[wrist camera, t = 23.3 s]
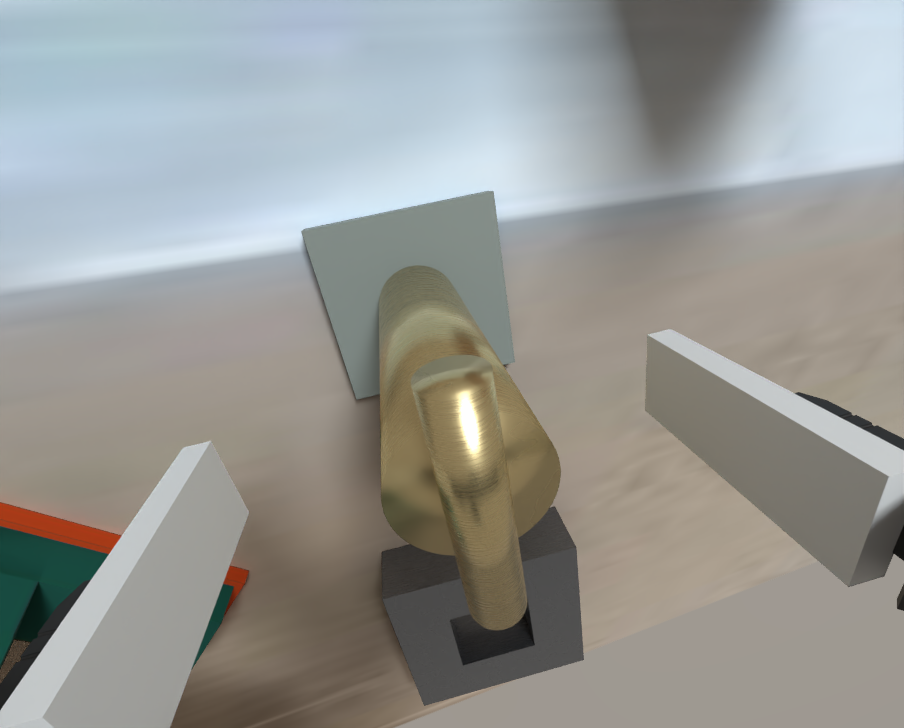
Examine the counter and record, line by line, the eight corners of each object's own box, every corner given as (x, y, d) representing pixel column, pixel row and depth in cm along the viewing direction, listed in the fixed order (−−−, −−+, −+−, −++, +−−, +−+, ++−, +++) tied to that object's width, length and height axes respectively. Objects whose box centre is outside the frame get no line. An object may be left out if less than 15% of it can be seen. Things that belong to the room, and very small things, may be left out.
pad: (357, 391, 26) (356, 399, 25) (304, 228, 22) (301, 231, 21) (510, 355, 27) (514, 362, 26) (488, 190, 22) (493, 191, 22)
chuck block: (420, 655, 38) (424, 705, 35) (381, 551, 32) (382, 599, 29) (565, 615, 39) (583, 659, 36) (554, 506, 33) (576, 547, 30)
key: (394, 367, 25) (419, 653, 10) (363, 250, 22) (334, 424, 7) (466, 351, 25) (588, 605, 11) (445, 233, 22) (577, 366, 7)
